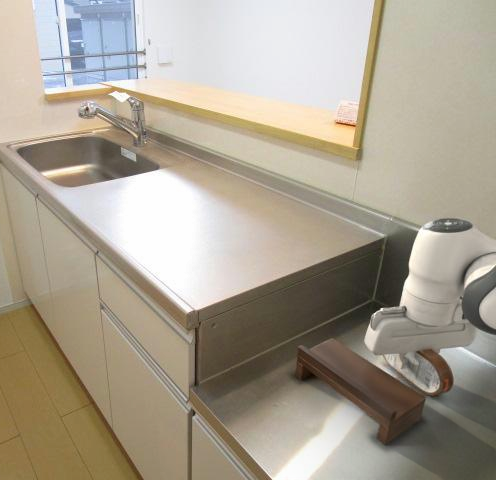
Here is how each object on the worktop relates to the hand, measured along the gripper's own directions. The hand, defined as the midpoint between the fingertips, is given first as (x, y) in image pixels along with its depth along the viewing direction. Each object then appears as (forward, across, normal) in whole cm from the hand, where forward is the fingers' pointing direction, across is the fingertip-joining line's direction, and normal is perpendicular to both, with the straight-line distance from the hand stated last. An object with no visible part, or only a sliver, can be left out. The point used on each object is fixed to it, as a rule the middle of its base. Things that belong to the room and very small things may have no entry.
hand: (412, 365), depth 87 cm
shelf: (+3, -13, -3) cm, 14 cm away
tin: (+3, 0, 0) cm, 3 cm away
